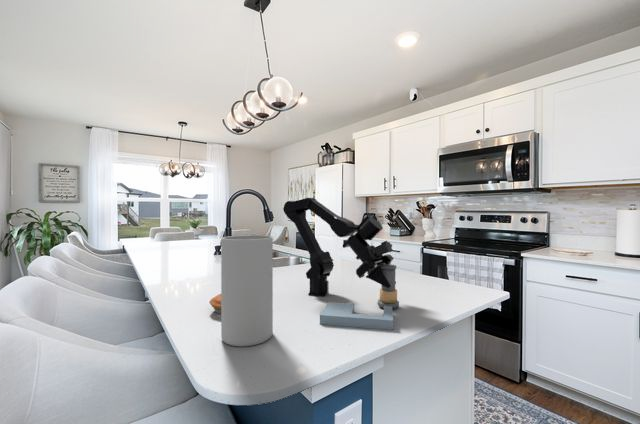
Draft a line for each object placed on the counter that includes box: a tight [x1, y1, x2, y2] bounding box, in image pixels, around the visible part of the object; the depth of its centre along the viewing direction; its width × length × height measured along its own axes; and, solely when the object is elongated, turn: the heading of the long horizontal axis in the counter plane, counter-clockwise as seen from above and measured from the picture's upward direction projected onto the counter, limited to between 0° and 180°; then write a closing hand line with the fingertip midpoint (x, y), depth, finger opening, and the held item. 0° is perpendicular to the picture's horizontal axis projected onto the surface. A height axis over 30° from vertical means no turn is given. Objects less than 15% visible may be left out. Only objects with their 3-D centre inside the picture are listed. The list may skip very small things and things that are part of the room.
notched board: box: [319, 301, 394, 331], centre depth 87 cm, size 20×12×2 cm, turn 78°
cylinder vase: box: [220, 234, 274, 347], centre depth 75 cm, size 12×12×25 cm
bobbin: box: [377, 263, 400, 310], centre depth 98 cm, size 7×7×13 cm
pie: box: [209, 293, 221, 316], centre depth 95 cm, size 16×16×5 cm
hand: (392, 285), depth 97 cm, fingers closed on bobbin, 4 cm apart
